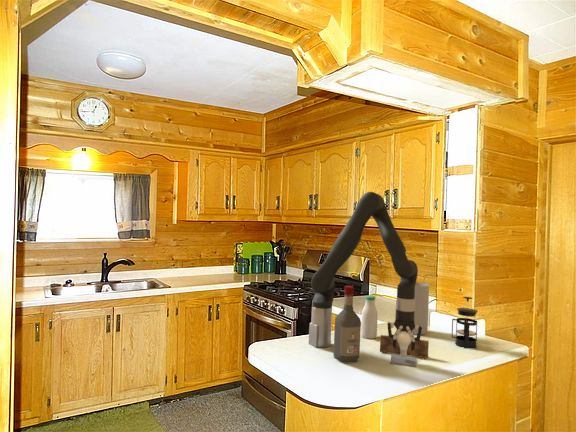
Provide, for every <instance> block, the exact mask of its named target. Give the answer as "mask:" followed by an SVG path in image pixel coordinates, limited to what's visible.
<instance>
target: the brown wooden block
mask: <svg viewBox="0 0 576 432" xmlns="http://www.w3.org/2000/svg"><path fill="white" fill-rule="evenodd" d="M379 339H380V343H379V352H381V354H385V355H386V354H393V355H400V347H399V344H398V342H397V340H396V349H394V347H393V339H392V338H390V337H389V335H385V334H384V335H383V334H380V338H379ZM407 356H408V357H417V358H420V359H423V360H427V359H428V358H429V340H426V339H420V341H416V342H415V349H414V350H413V351H411V343H410V344H409V346H408V349H407Z"/></svg>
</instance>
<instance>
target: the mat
mask: <svg viewBox="0 0 576 432" xmlns="http://www.w3.org/2000/svg"><path fill="white" fill-rule="evenodd" d="M390 354H391V355H390V360H389V363H390V365H398V366H406V367H412V368H417V358H416V356H409V355H407V356H405V357H402V356H401V355H400V354H394V353H390Z"/></svg>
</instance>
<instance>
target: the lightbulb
mask: <svg viewBox="0 0 576 432" xmlns="http://www.w3.org/2000/svg"><path fill="white" fill-rule="evenodd" d="M396 340H397V342H398V344H399V347H400V354H399V355H401V356H402V357H405V356H408V355H407V349H408V346H409V344H410V343H411V341H412V339H411V337H410V335H409V333H408V332H405V331H401V332H400V333H399V335H397V338H396Z"/></svg>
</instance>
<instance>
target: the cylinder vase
mask: <svg viewBox="0 0 576 432" xmlns="http://www.w3.org/2000/svg"><path fill="white" fill-rule="evenodd" d="M414 299H415V315H414V323H415V325H418V326H419V325H421V326H422V331H421V336H423V335H427V333H428V331H429V329H428V326H429V325H428V323H429V302H430V301H429V300H430V285H429V283H426V282H425V283H424V282H417V281H416V284H415V298H414ZM412 333H413V335H414V336H415V335H416V336H417V333H418V331H417V330H416V328H414V329H413V330H412Z"/></svg>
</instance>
